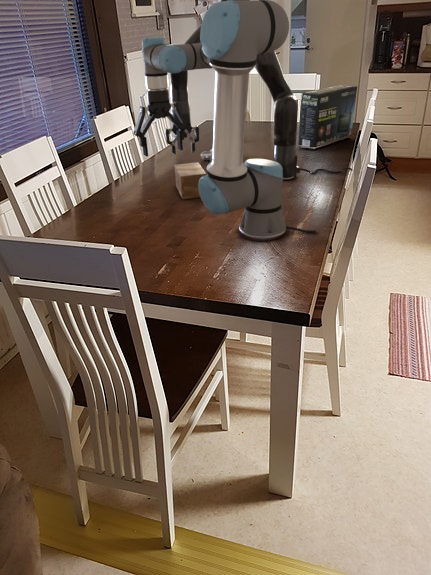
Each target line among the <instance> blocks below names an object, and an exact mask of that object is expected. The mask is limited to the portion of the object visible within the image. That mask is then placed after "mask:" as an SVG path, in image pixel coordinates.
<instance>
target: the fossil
mask: <svg viewBox="0 0 431 575" xmlns="http://www.w3.org/2000/svg"><path fill="white" fill-rule="evenodd" d="M212 157H213V147H212V148H210V150H205V151H202V152H201V153H200V158H201V159H202V160H203V161H209V162H212Z"/></svg>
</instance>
